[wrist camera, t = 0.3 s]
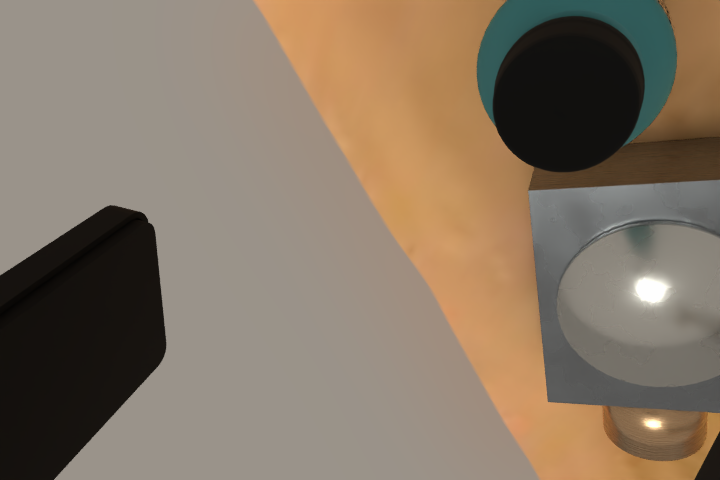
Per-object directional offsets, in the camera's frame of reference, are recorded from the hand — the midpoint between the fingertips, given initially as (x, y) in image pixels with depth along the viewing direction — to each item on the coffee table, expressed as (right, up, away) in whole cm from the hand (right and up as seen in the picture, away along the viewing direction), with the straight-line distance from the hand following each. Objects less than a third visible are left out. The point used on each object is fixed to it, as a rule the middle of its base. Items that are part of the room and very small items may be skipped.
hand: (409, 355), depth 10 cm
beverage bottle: (+11, +14, +24) cm, 30 cm away
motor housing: (+17, -1, +29) cm, 34 cm away
